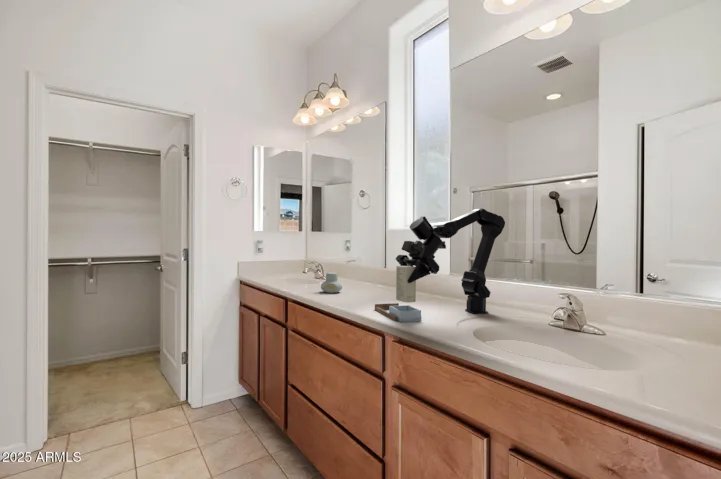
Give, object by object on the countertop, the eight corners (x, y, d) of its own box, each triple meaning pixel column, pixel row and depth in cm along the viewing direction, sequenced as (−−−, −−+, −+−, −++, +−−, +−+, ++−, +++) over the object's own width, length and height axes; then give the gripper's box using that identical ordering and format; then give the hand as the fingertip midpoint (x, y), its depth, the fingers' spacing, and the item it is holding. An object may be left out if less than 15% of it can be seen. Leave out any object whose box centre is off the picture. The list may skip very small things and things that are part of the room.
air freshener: (343, 291, 184) (343, 272, 184) (340, 294, 176) (341, 274, 176) (322, 290, 185) (323, 272, 185) (319, 293, 177) (319, 273, 177)
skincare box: (415, 302, 120) (417, 266, 120) (405, 302, 118) (406, 266, 118) (405, 299, 126) (406, 265, 126) (394, 300, 123) (396, 265, 124)
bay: (397, 309, 140) (397, 303, 140) (421, 320, 121) (421, 313, 121) (374, 310, 137) (374, 303, 137) (394, 321, 118) (395, 314, 118)
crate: (408, 315, 128) (408, 305, 128) (420, 321, 118) (421, 310, 118) (389, 316, 125) (389, 305, 125) (400, 322, 116) (400, 311, 116)
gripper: (400, 233, 132) (374, 263, 127) (433, 232, 116) (405, 267, 110) (416, 253, 136) (392, 284, 130) (450, 256, 119) (424, 290, 114)
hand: (402, 281), depth 121 cm, fingers closed on skincare box, 6 cm apart
